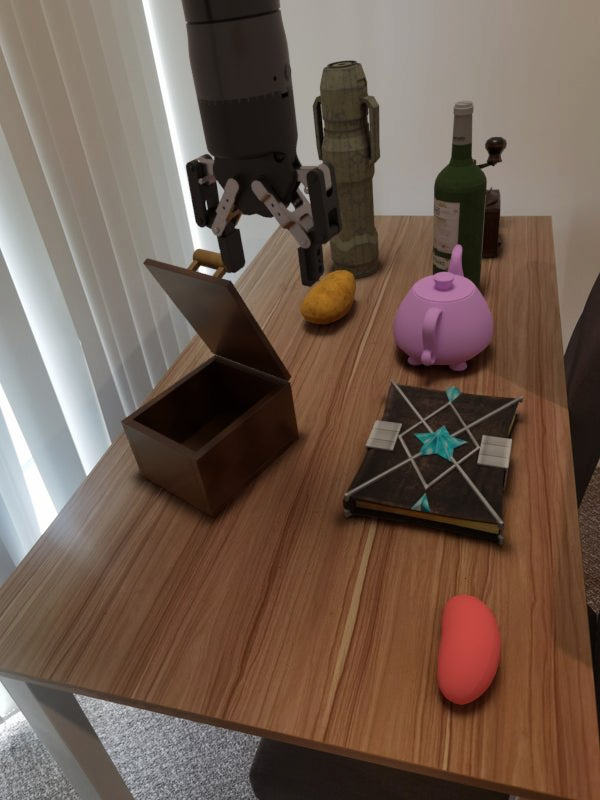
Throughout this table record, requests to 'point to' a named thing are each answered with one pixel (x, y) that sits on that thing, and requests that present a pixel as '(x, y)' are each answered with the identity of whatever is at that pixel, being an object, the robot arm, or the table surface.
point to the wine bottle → (460, 202)
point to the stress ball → (467, 649)
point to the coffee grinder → (492, 201)
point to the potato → (330, 298)
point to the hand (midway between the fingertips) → (273, 275)
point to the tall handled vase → (350, 161)
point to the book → (437, 461)
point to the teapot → (443, 319)
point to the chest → (213, 432)
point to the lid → (218, 312)
